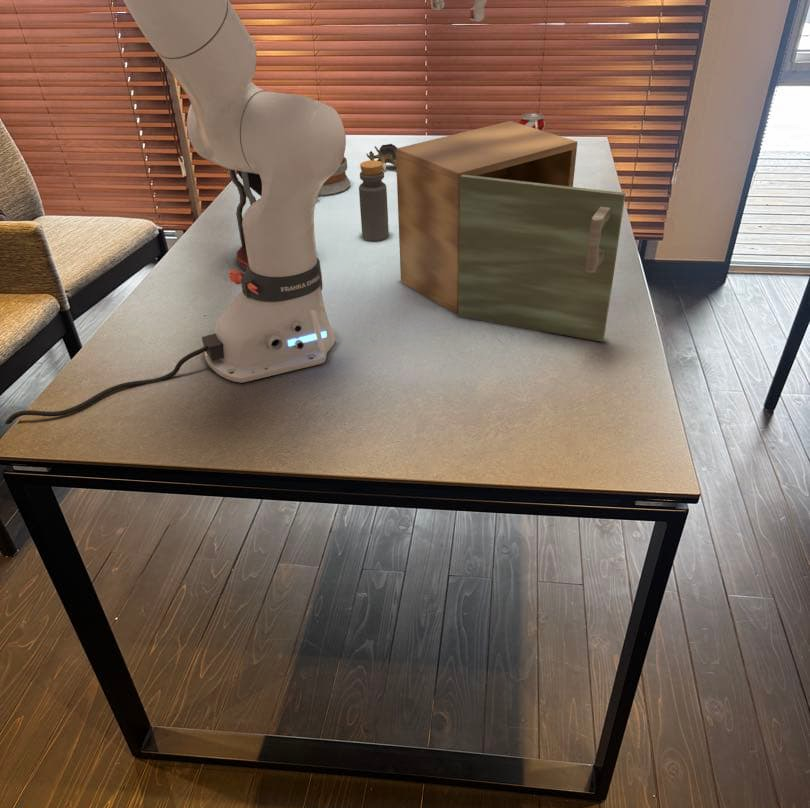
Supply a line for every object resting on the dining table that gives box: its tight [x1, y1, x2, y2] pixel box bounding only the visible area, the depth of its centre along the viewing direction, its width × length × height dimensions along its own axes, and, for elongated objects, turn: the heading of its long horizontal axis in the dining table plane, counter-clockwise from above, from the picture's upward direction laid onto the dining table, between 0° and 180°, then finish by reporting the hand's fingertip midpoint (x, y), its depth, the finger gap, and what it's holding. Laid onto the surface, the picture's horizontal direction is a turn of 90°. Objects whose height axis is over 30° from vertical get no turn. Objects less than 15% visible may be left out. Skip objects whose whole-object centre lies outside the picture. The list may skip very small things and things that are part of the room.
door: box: [458, 175, 627, 343], centre depth 129 cm, size 7×26×24 cm, turn 65°
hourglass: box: [228, 169, 262, 271], centre depth 157 cm, size 16×16×25 cm
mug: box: [317, 156, 351, 197], centre depth 192 cm, size 14×19×15 cm
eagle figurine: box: [365, 143, 398, 173], centre depth 206 cm, size 8×7×9 cm
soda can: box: [518, 112, 547, 132], centre depth 201 cm, size 7×7×12 cm
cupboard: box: [395, 120, 578, 315], centre depth 147 cm, size 18×26×24 cm
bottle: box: [358, 159, 390, 242], centre depth 168 cm, size 6×6×15 cm
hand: (457, 14), depth 130 cm, fingers open, 8 cm apart
